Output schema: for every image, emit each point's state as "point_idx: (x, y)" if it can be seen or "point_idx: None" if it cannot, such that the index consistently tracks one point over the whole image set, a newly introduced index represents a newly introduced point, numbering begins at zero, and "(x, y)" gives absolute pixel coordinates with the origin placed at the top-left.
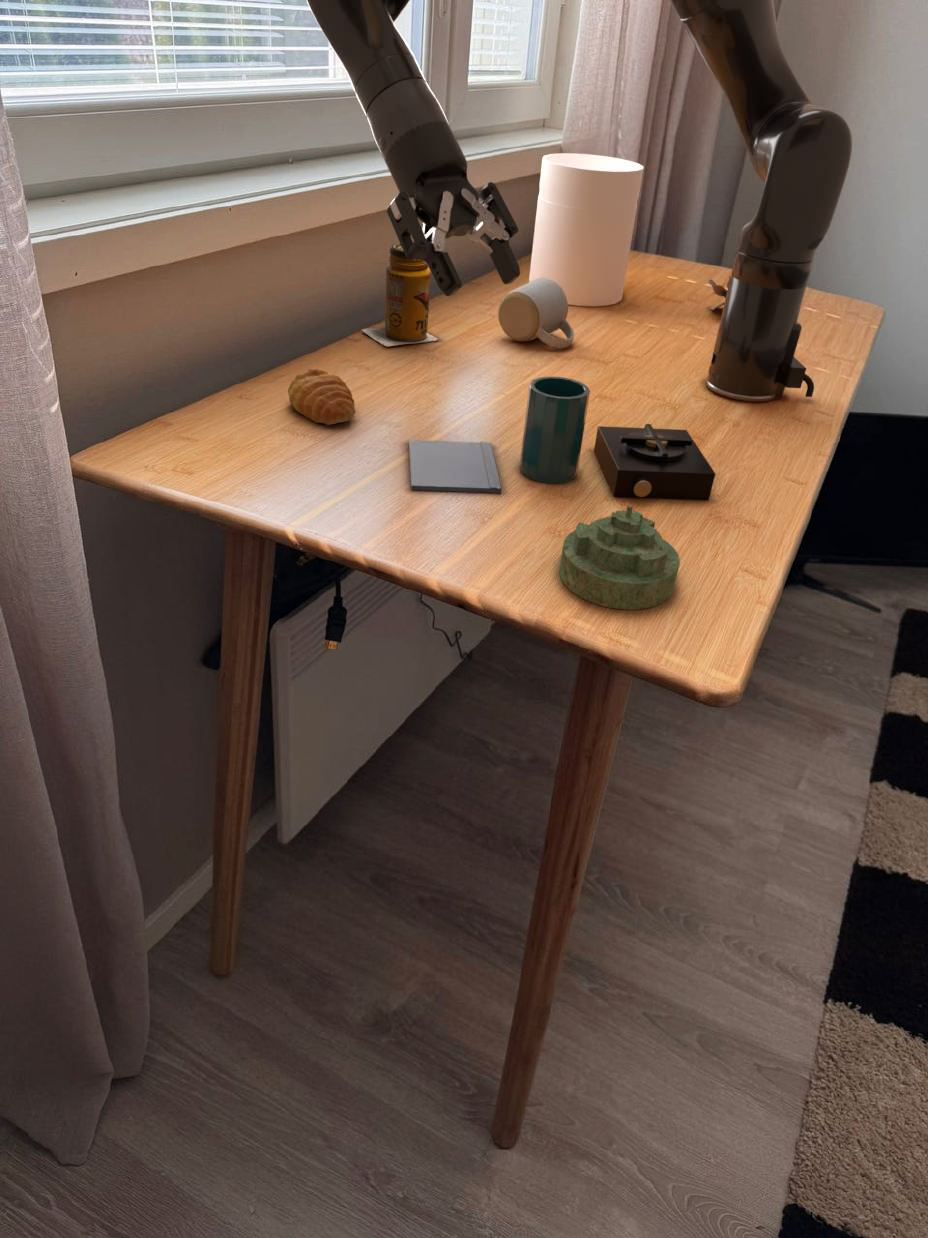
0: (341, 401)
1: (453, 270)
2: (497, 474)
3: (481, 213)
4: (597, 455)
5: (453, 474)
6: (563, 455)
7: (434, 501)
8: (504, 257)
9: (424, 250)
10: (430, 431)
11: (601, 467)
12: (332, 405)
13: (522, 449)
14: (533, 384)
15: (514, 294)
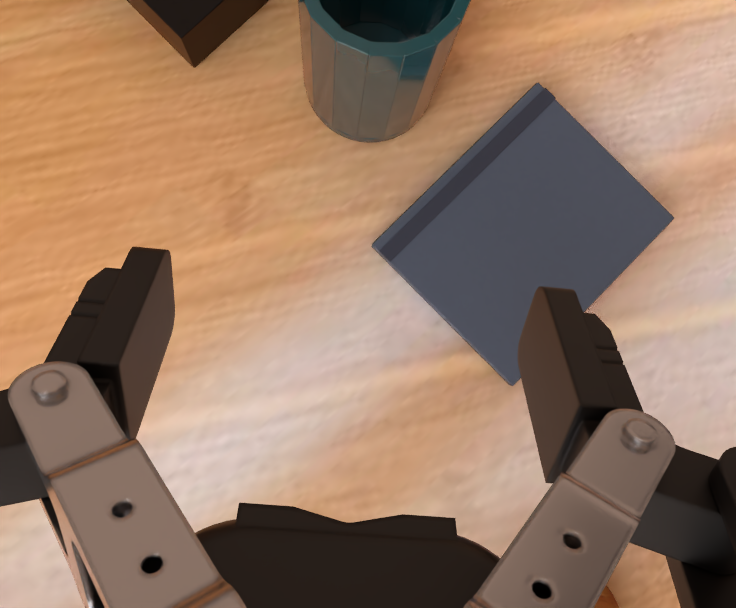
0: None
1: (571, 330)
2: (491, 129)
3: (169, 511)
4: (223, 36)
5: (567, 192)
6: None
7: (665, 155)
8: (141, 333)
9: (717, 461)
10: (413, 404)
11: (263, 3)
12: (595, 606)
13: (421, 106)
14: (432, 32)
15: None
